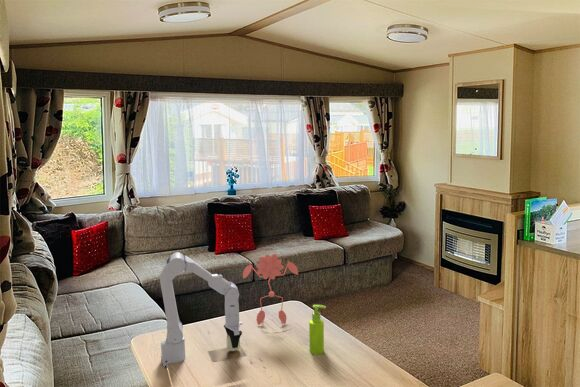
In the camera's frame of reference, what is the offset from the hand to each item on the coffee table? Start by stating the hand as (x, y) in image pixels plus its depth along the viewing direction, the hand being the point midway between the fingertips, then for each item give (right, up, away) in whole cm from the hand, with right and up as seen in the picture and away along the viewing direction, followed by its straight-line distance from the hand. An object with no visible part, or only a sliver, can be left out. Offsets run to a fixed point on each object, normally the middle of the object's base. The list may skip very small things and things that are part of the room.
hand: (233, 344), depth 203 cm
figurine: (+15, 0, +26) cm, 30 cm away
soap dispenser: (+35, -3, +1) cm, 35 cm away
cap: (0, -1, 0) cm, 2 cm away
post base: (-2, -4, -1) cm, 5 cm away
